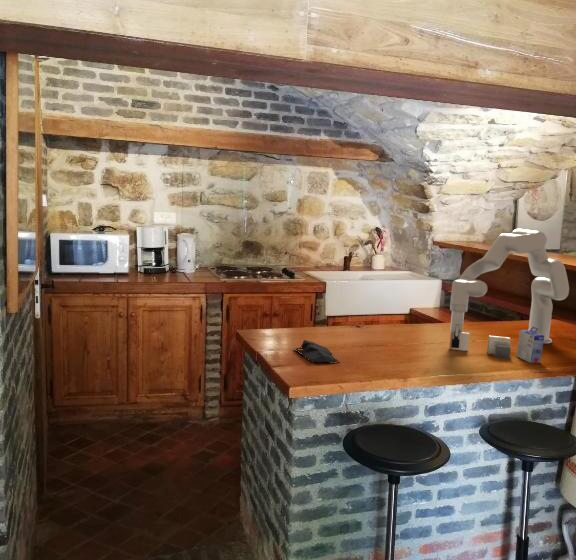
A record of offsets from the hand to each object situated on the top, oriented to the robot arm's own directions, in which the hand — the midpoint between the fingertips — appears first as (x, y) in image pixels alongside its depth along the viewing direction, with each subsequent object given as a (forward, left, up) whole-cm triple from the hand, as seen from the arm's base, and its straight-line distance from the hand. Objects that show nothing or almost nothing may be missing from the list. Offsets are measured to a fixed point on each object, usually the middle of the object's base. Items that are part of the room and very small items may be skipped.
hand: (455, 346), depth 257 cm
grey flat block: (0, +2, -1) cm, 2 cm away
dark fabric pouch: (+34, -57, -2) cm, 66 cm away
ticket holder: (0, +18, -1) cm, 19 cm away
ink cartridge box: (+3, +31, -2) cm, 31 cm away
